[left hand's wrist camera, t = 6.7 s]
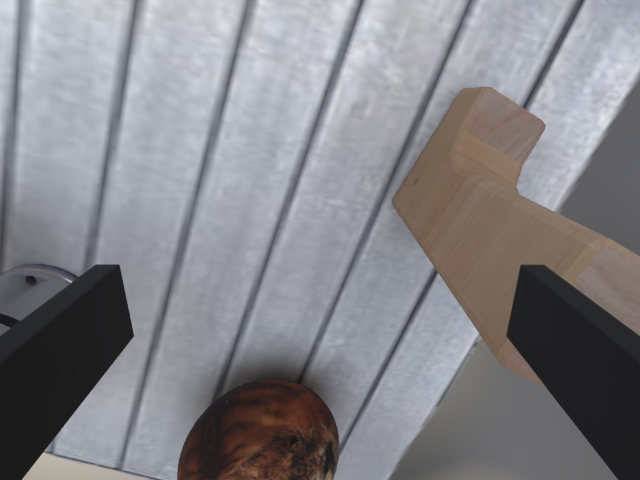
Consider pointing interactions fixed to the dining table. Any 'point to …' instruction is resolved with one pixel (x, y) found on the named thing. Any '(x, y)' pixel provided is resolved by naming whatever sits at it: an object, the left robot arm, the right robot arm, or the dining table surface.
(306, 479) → the plush toy
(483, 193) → the decorative block
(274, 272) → the dining table surface
